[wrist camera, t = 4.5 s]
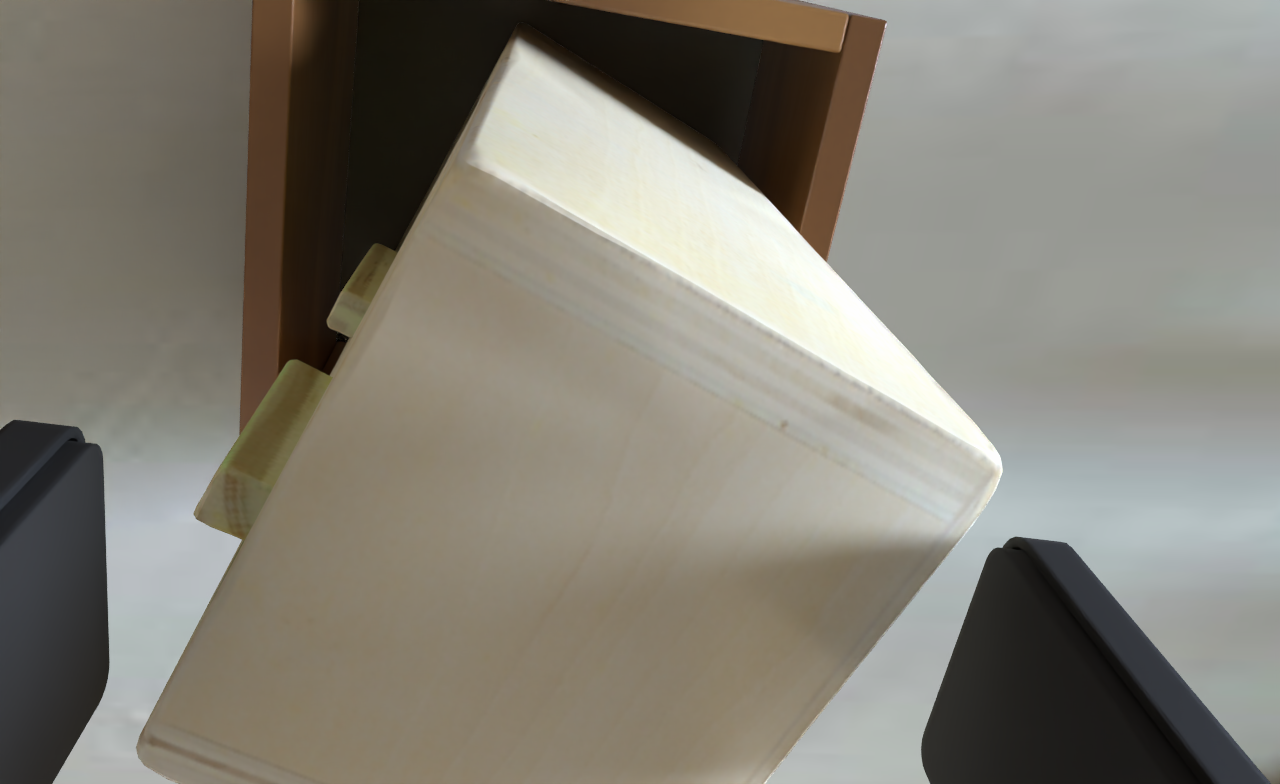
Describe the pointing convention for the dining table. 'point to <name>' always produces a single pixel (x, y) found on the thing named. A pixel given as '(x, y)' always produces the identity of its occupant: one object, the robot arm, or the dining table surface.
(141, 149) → the dining table surface
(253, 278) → the open wooden box
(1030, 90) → the dining table surface
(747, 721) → the toy refrigerator
